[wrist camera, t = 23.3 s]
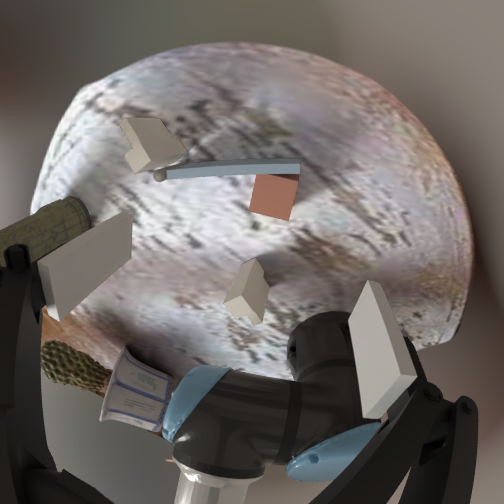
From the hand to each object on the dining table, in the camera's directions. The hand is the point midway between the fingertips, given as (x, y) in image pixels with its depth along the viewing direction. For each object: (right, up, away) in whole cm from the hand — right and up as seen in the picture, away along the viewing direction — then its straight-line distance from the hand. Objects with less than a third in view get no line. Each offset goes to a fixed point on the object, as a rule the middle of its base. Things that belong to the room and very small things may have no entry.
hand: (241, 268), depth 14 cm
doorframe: (-5, +7, +23) cm, 24 cm away
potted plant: (-28, -22, +40) cm, 54 cm away
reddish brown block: (+4, +9, +21) cm, 23 cm away
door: (-1, +12, +20) cm, 23 cm away
